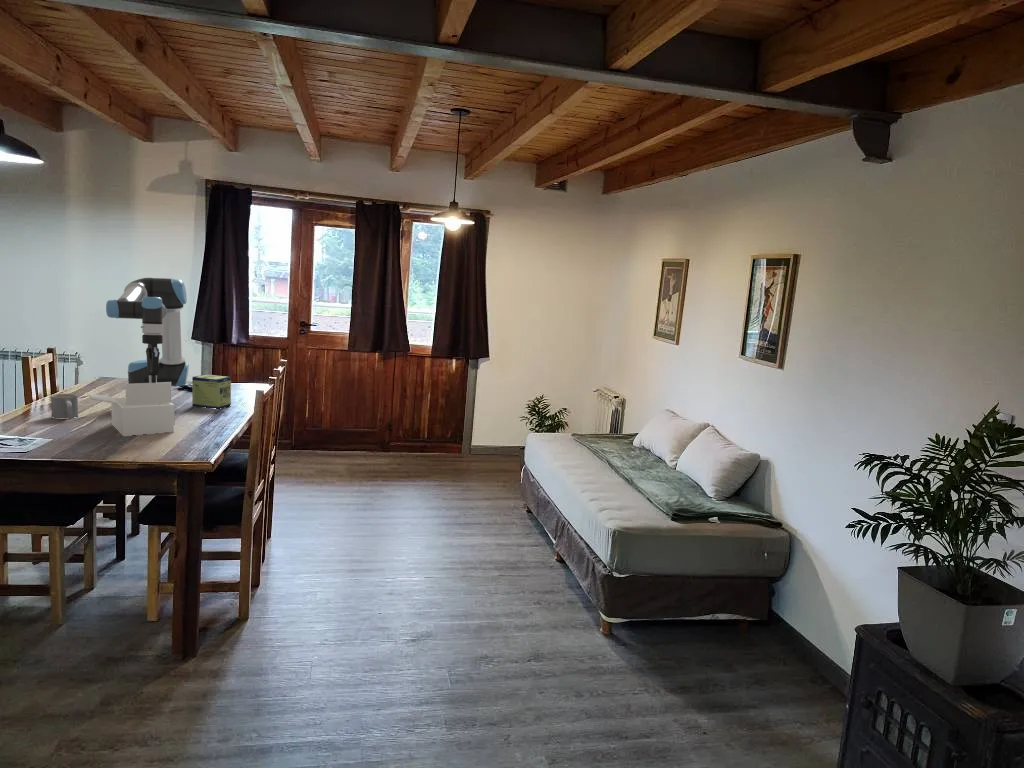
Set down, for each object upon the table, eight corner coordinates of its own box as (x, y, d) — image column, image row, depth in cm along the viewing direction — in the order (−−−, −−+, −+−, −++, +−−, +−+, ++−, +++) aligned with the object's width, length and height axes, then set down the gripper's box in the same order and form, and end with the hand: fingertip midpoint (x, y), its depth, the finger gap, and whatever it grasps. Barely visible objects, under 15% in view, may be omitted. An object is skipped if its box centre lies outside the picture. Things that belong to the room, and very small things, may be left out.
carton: (111, 424, 299) (111, 398, 297) (161, 421, 312) (160, 395, 310) (123, 436, 281) (122, 407, 279) (175, 432, 294) (175, 404, 292)
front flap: (125, 405, 280) (125, 383, 278) (170, 402, 290) (171, 381, 289) (125, 405, 279) (125, 384, 277) (171, 402, 290) (171, 382, 288)
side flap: (110, 398, 294) (87, 394, 288) (111, 397, 294) (87, 393, 288) (117, 403, 284) (92, 399, 278) (117, 402, 284) (93, 398, 278)
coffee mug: (51, 415, 308) (50, 394, 307) (77, 414, 314) (76, 393, 313) (52, 421, 298) (51, 399, 296) (79, 420, 303) (78, 398, 302)
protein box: (219, 409, 343) (219, 379, 341) (191, 406, 346) (191, 376, 344) (231, 406, 354) (231, 376, 351) (204, 403, 357) (204, 374, 354)
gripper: (138, 333, 286) (139, 389, 288) (146, 334, 276) (146, 392, 278) (158, 333, 291) (159, 388, 293) (166, 335, 281) (166, 391, 283)
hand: (153, 390), depth 286 cm, fingers closed
